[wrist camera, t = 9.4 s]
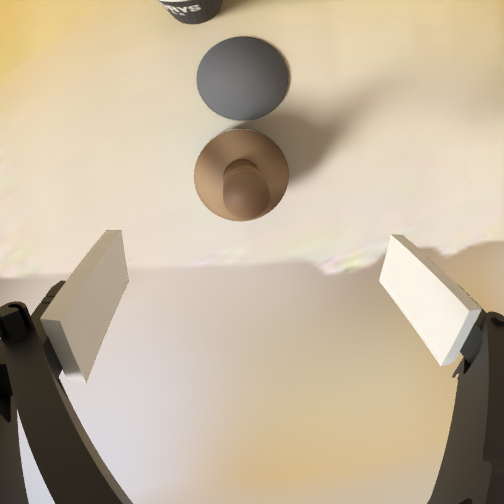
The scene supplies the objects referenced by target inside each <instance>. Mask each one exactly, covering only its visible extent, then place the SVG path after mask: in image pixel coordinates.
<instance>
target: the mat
mask: <svg viewBox="0 0 504 504" xmlns="http://www.w3.org/2000/svg"><path fill="white" fill-rule="evenodd" d="M287 84H288V74H287V69H286V65H285V63H284V61H283V59H282V57H281V56H280V55H279V53H278V52H277V51H276V50H275V49H274V48H273V47H271V46H270V45H268V44H267V43H265V42H263V41H261V40H258V39H254V38H249V37H236V38H231V39H227V40H224V41H222V42H220V43H218V44H216V45H215V46H214V47H212V48H211V49H210V50H209V51H208V52H207V53H206V54H205V56H204V57H203V59H202V60H201V62H200V65H199V68H198V71H197V86H198V90H199V93H200V95H201V97H202V99H203V101H204V102H205V103H206V105H207V106H208V107H209V108H210V109H211V110H213V111H214V112H215V113H217V114H219V115H221V116H223V117H225V118H228V119H233V120H252V119H256V118H259V117H262V116H264V115H266V114H267V113H269V112H270V111H272V110H273V109H274V108H275V107H276V106H277V105H278V104H279V103H280V102H281V100H282V98H283V97H284V94H285V92H286V89H287Z"/></svg>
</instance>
